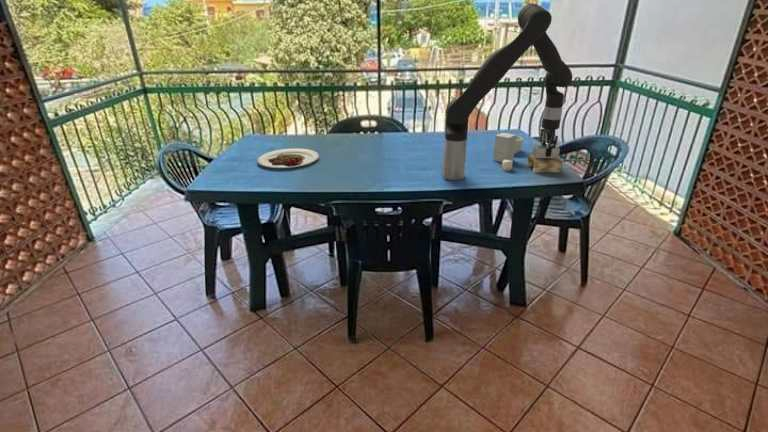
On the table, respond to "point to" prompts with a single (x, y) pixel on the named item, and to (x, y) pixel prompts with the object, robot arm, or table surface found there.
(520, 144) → the ramekin
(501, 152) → the supplement box
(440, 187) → the table surface
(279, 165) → the plated food
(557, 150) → the housing
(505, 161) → the beige cube
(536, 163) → the stand
